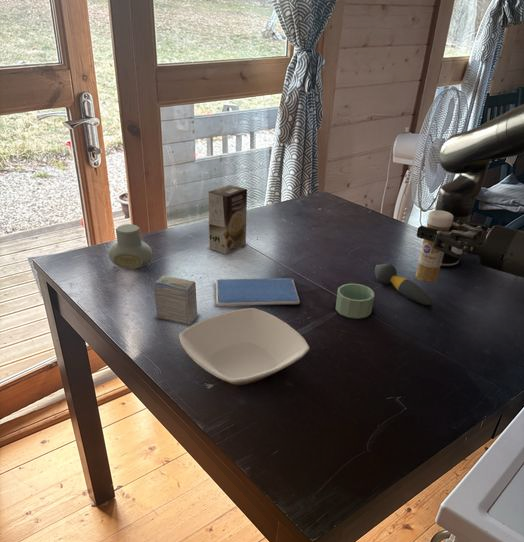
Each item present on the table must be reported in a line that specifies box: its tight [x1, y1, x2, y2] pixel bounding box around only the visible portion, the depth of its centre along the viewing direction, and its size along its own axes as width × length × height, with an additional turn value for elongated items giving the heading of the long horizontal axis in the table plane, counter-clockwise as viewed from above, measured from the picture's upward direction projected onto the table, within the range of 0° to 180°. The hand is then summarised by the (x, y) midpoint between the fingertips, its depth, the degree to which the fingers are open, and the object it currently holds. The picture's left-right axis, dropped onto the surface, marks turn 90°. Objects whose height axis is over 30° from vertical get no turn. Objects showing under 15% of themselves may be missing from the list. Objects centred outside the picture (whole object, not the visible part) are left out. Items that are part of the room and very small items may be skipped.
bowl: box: [178, 307, 310, 386], centre depth 99 cm, size 22×22×5 cm
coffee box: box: [208, 184, 248, 255], centre depth 141 cm, size 9×6×16 cm
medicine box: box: [153, 275, 198, 325], centre depth 111 cm, size 8×4×9 cm, turn 71°
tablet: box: [215, 277, 301, 307], centre depth 123 cm, size 19×13×1 cm, turn 95°
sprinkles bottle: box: [414, 209, 453, 283], centre depth 100 cm, size 5×5×13 cm
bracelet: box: [335, 283, 375, 320], centre depth 118 cm, size 8×8×4 cm
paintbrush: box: [374, 263, 433, 306], centre depth 126 cm, size 20×5×5 cm, turn 38°
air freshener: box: [108, 223, 153, 271], centre depth 131 cm, size 11×8×10 cm
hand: (424, 227), depth 100 cm, fingers closed on sprinkles bottle, 4 cm apart
